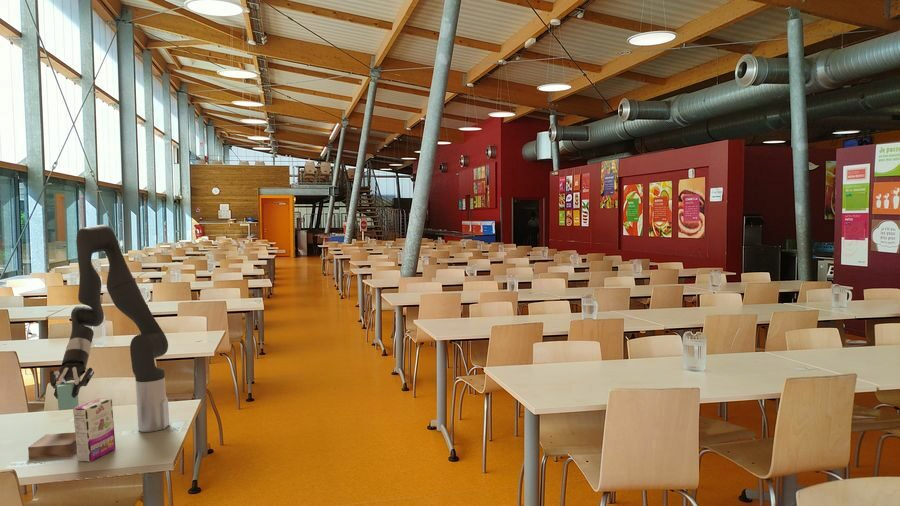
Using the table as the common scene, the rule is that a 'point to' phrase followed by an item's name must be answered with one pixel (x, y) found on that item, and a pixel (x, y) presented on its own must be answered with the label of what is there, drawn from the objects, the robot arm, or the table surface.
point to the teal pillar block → (66, 396)
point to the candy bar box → (94, 429)
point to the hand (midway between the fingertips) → (65, 397)
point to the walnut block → (53, 446)
